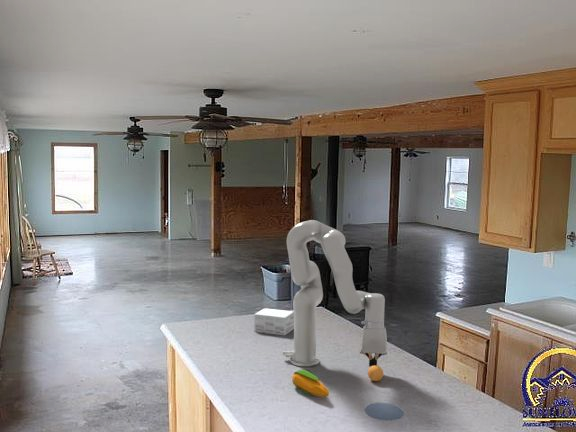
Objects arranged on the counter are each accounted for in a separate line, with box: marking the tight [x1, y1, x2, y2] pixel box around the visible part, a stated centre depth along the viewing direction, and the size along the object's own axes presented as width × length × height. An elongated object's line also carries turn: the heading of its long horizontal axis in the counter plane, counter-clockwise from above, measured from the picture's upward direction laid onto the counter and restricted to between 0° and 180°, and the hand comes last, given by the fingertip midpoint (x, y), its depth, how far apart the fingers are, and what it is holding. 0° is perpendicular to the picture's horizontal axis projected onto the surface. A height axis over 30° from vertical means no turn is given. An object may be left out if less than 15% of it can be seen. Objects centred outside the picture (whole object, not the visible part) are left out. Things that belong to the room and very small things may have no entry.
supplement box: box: [253, 308, 294, 336], centre depth 277 cm, size 17×13×9 cm
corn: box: [291, 369, 330, 398], centre depth 200 cm, size 7×8×20 cm
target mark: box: [364, 402, 404, 421], centre depth 187 cm, size 13×13×1 cm
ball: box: [367, 364, 384, 382], centre depth 213 cm, size 6×6×6 cm
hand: (372, 368), depth 223 cm, fingers closed
